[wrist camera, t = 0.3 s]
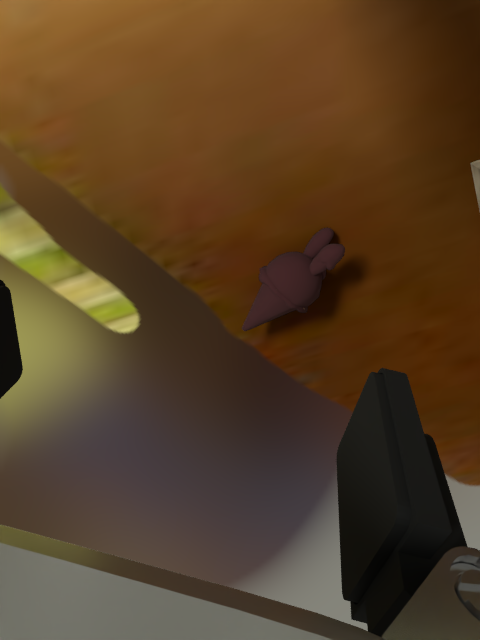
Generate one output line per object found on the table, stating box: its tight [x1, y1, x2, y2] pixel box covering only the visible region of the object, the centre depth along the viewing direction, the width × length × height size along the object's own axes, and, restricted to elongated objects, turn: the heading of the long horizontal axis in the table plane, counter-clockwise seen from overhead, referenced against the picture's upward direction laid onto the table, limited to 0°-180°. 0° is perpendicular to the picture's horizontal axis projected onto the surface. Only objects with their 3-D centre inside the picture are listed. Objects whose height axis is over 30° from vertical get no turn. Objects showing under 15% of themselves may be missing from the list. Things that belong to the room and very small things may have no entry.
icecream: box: [242, 228, 345, 331], centre depth 45 cm, size 7×7×15 cm
